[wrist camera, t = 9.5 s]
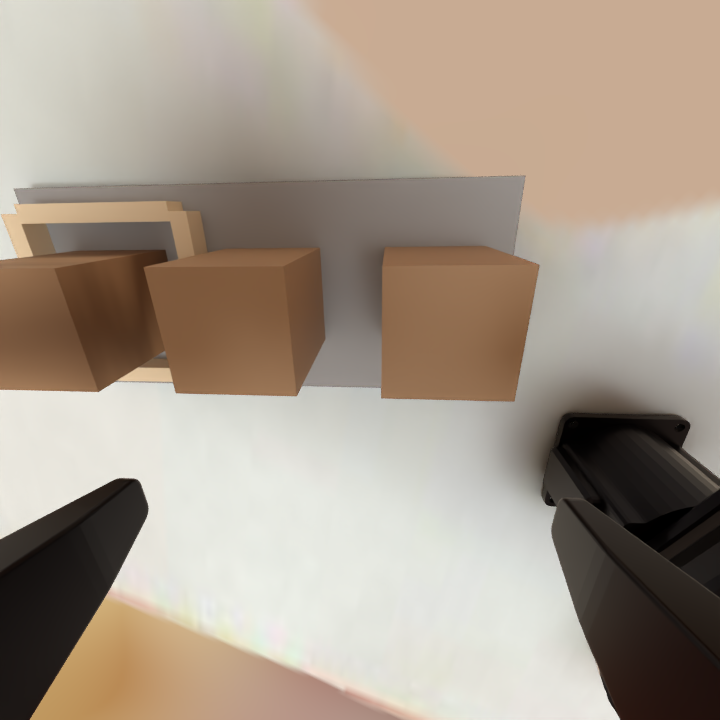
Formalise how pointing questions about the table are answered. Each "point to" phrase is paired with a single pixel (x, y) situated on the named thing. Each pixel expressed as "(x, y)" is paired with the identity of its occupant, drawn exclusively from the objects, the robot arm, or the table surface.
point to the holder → (314, 280)
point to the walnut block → (76, 319)
